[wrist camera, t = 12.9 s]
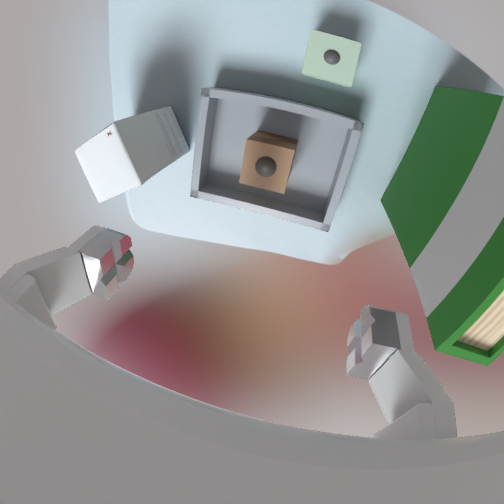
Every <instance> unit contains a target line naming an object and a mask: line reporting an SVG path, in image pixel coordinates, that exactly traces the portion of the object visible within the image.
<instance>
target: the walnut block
mask: <svg viewBox="0 0 504 504" xmlns="http://www.w3.org/2000/svg"><path fill="white" fill-rule="evenodd" d="M297 143H298V139H294V138H290V137H286V136H282V135H278V134H273V133H269V132H264V131H260V130H257V131H256V132H255V133H254V134H252V135H251V136H250V137H249V138H247V139H246V145H245V150H244V156H243V162H242V168H241V174H240V179H239V183H241V184H246V185H250V186H254V187H258V188H262V189H266V190H270V191H274V192H278V193H281V194H284V193H285V189H286V186H287V182H288V179H289V175H290V171H291V167H292V163H293V159H294V155H295V151H296V147H297Z"/></svg>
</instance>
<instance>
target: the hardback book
mask: <svg viewBox="0 0 504 504" xmlns="http://www.w3.org/2000/svg"><path fill="white" fill-rule="evenodd" d="M381 202H382V204H383V207H384V209H385V211H386V213H387V215H388V217H389V219H390V222H391V224H392V226H393V228H394V231H395V233H396V235H397V238H398V240H399V242H400V245H401V247H402V250H403V252H404V255H405V257H406V260H407V262H408V265H409V268H410V271H411V273H412V276H413V279H414V281H415V284H416V287H417V290H418V293H419V296H420V299H421V302H422V306H423V309H424V312H425V315H426V319H427V322H428V326H429V329H430V333H431V337H432V341H433V344H434V348H435V350H436V351H439V352H442V353H445V354H449V355H452V356H456V357H459V358H462V359H465V360H469V361H472V362H476V363H479V364H483V365H486V366H488V365H489V364H490V363H491V362H493V361H494V360H495V359H496V358H497V357H498V356H499V355H500V354H502V352H504V97H503V96H499V95H494V94H488V93H483V92H477V91H471V90H464V89H456V88H447V87H437V86H435V89H434V91H433V94H432V96H431V98H430V101H429V103H428V105H427V108H426V110H425V112H424V115H423V117H422V119H421V121H420V123H419V126H418V128H417V130H416V132H415V134H414V136H413V138H412V141H411V143H410V145H409V147H408V149H407V151H406V153H405V155H404V157H403V159H402V161H401V163H400V165H399V167H398V169H397V171H396V173H395V174H394V176H393V178H392V180H391V182H390V184H389V186H388V188H387V189H386V191H385V193H384V195H383V197H382V199H381Z"/></svg>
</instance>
